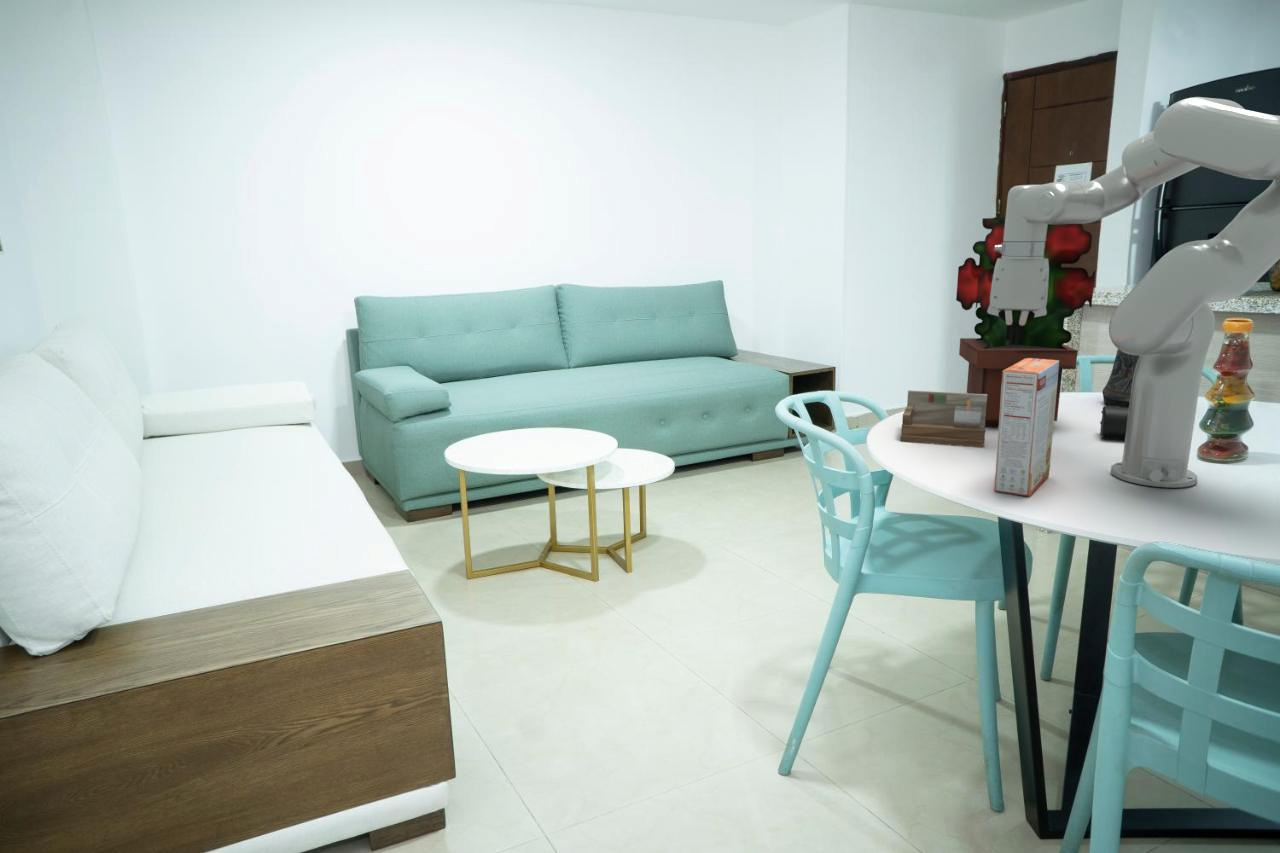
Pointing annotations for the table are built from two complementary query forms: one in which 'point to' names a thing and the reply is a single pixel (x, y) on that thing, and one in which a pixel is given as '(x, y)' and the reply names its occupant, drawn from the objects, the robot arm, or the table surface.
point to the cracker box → (1026, 425)
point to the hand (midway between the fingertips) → (1013, 344)
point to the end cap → (1114, 422)
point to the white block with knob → (967, 417)
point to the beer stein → (1120, 380)
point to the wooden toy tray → (941, 418)
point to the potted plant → (1038, 333)
